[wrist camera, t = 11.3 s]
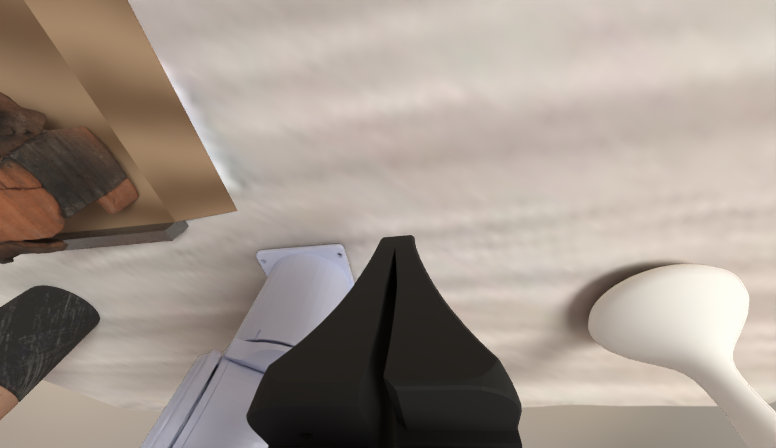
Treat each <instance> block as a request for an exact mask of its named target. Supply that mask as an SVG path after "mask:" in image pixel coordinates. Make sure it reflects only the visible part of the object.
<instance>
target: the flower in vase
mask: <svg viewBox="0 0 776 448" xmlns="http://www.w3.org/2000/svg"><path fill="white" fill-rule="evenodd" d="M748 308H749V295H748V292H747V290H746V288H745V287H744V285H743V283H742V282H741V280H740V279H739V278H738V277H737V276H736V275H735V274H733V273H731V272H729V271H727V270H724V269H722V268H717V267H712V266H707V265H701V264H676V265H669V266H663V267H658V268H655V269H651V270H648V271H645V272H642V273H639V274H637V275H634V276H632V277H630V278H628V279H625V280H623V281H622V282H620V283H618V284H617V285H615V286H613V287H612V288H611V289H609V290H608V291H607V292H606V293H604V294H603V295H602V296H601V297H600V298H599V299H598V300H597V301H596V303H595V304H594V306H593V307H592V309H591V312H590V315H589V320H588V330H589V333H590V335H591V337H592V338H593V339H594V340H595V341H596V342H598V343H599V344H600V345H601V346H602V347H604V348H605V349H606V350H608V351H610V352H613V353H615V354H618V355H620V356H623V357H626V358H629V359H632V360H636V361H640V362H644V363H648V364H653V365H657V366H662V367H666V368H669V369H673V370H676V371H678V372H681V373H683V374H685V375H686V376H688V377H690V378H691V379H693V380H694V381H695V382H696V383H697V384H698V385H700V386H701V387H702V388H703V389H704V390H705V391H706V392H707V394H708V395H709V396H710V397H711V398H712V399H713V400H714V401H715V403H716V404H717V405H718V406H719V407H720V409H721V410H722V411H723V413H724V414H725V415H726V416H727V418H728V419H729V420H730V422H731V423H732V424H733V426H734V427H735V429H736V430H737V431H738V433H739V434H740V436H741V437H742V439H743V440H744V442H745V443H746V445H747V447H748V448H776V412H775V411H774V410H773V409H772V408H771V407H770V406H769V405H768V404H767V403H766V402H765V401H764V400H763V399H762V398H761V397H760V396H759V395H758V394H757V393H756V392H755V391H754V390H753V389H752V388H751V386H750V385H749V384H748V383H747V382H746V381H745V380H744V379H743V377H742V376H741V374H740V373H739V371H738V370H737V369H736V367H735V364H734V361H733V350H734V347H735V344H736V342H737V340H738V337H739V335H740V333H741V331H742V329H743V326H744V324H745V321H746V318H747V315H748Z"/></svg>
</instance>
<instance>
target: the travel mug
mask: <svg viewBox="0 0 776 448" xmlns="http://www.w3.org/2000/svg"><path fill="white" fill-rule="evenodd" d="M98 322H99V315H98V313H97V311H96V310H95V309H94V308H93V307H92V306H91V305H90V304H89V303H87V302H86V301H85V300H83V299H82V298H80V297H78V296H76V295H74V294H72V293H70V292H68V291H65V290H62V289H59V288H55V287H51V286H35V287H33V288H30V289H29V290H27V291H25V292H24V293H22V294H20V295H19V296H17V297H16V298H14V299H12V300H11V301H9V302H8V303H6V304H5V305H3V306H2V307H0V420H1V419H2V418H3V417H4V416H5V415H6V414H7V413H8V412H10V411H11V409H13V408H14V407H15V406H16V405H17V404H18V402H20V401H21V400H22V399H23V398H24V397H25V396H26V395H27V394H28V393H29V392H30V391H31V390H32V389H33V388H34V387H35V386H36V385H37V384H38V383H39V382H40V381H41V380H42V379H43V378H44V377H45V376H46V375H47V374H48V373H49V372H50V371H51V370H52V369H53V368H54V367H55V366H56V365H57V364H58V363H59V362H60V361H61V360H62V359H63V358H64V357H65V356H66V355H67V354H68V353H69V352H70V351H71V350H72V349H73V348H74V347H75V346H76V345H77V344H78V343H79V342H80V341H81V340H82V339H83V338H84V337H85V336H86V335H87V334H88V333H89V332H90V331H91V330H92V329H93V328H94V327H95V326H96V325H97V324H98Z"/></svg>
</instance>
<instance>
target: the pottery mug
mask: <svg viewBox="0 0 776 448" xmlns="http://www.w3.org/2000/svg"><path fill="white" fill-rule="evenodd" d="M46 123H47V117H46V115H45V114H44V113H41V112H39V111H36V110H31V109H27V108H23V107H21V106H19V105H18V104H17V103H16V102H14V101H13V100H12V99H11V98H10V97H8V96H7V95H5V94H4V93H2V92H0V158H1V157H2V158H3V160H1V162H0V263H2V264H6V263H10V262H13V261H14V260H13V258H14V257H16V256H18V255H20V254H22V253H37V254H40V253H51V252H56V251H63V250H65V249H66V248H67V247H68V244H67V243H64V241H63V240H60V239H51V238H50V237H53V236H55V234H57V233H59V232H61V230H62V229H63V228H64V223H65V221H64V218H70V217H71V216H73V215H74V214H76V213H77V212H79V211H80V210H81V209H83V208H84V207H86V206H88V205H89V204H90V203H91V202H93V201H95V202H97V203H99V204H100V205H101V206H102V207H103V208H104V209H105V210H106V212H107V213H109V214H116V213H118V212H120V211H121V210H123V209H124V208H125V207H126V206H128V205H129V204H130V203H131V202H133V201H134V200H136V199H137V198H138V197H139V195H138V192H137V190H136V189H135V187H134V185H133V184H132V183H131V181H130V180H129V178H128V177H127V175H126V174H125V172H124V171H123V170H122V169H121V167H120V165H119V162H118V161H117V160H116V159H115V158H114V157H113V155H112V154H111V153H110V151H109V150H108V149H107V148H106V147H105V146H104V144H103V143H102V142H100V141H99V139H98V138H97V137H96V136H95V135H94V134H93V133H91V132H90V131H89V130H88V129H87V128H86V127H76V128H71V129H56V130H44V127H45V125H46Z"/></svg>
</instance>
